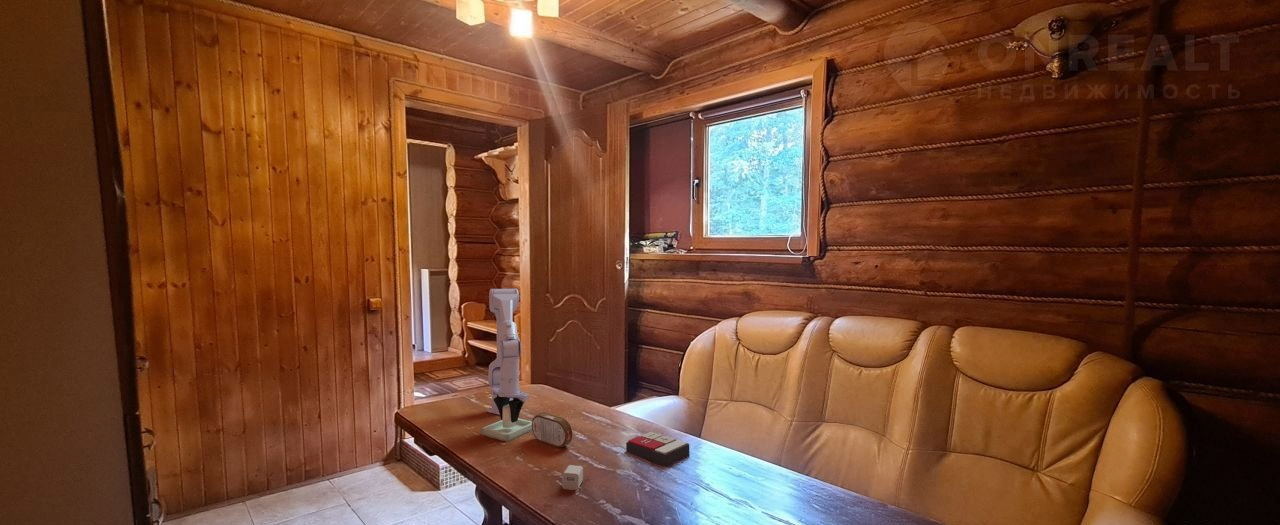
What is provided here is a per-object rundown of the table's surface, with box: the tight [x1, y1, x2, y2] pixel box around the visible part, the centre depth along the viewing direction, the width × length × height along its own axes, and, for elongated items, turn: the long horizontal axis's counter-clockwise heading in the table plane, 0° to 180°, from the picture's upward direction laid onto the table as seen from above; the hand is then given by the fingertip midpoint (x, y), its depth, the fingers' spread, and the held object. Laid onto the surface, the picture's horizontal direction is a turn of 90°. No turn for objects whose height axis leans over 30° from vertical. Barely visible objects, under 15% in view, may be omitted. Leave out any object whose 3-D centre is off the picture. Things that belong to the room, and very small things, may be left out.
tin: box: [531, 411, 573, 448], centre depth 145 cm, size 15×3×8 cm, turn 55°
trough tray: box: [480, 417, 533, 443], centre depth 154 cm, size 13×11×2 cm
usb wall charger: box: [561, 464, 584, 491], centre depth 120 cm, size 4×7×4 cm, turn 172°
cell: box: [502, 404, 516, 428], centre depth 154 cm, size 4×4×6 cm
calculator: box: [625, 431, 690, 468], centre depth 139 cm, size 11×4×15 cm
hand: (509, 420), depth 154 cm, fingers closed on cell, 4 cm apart
